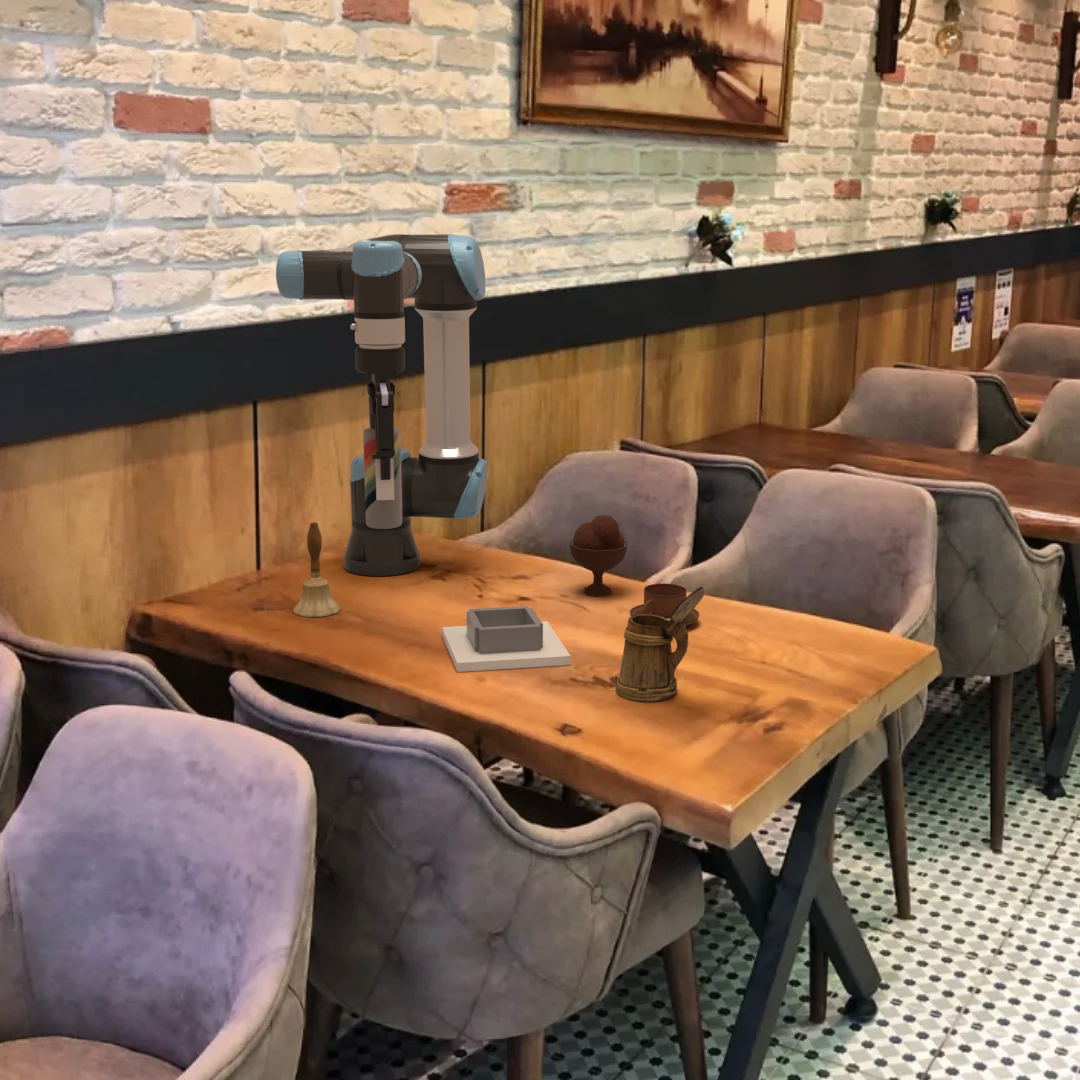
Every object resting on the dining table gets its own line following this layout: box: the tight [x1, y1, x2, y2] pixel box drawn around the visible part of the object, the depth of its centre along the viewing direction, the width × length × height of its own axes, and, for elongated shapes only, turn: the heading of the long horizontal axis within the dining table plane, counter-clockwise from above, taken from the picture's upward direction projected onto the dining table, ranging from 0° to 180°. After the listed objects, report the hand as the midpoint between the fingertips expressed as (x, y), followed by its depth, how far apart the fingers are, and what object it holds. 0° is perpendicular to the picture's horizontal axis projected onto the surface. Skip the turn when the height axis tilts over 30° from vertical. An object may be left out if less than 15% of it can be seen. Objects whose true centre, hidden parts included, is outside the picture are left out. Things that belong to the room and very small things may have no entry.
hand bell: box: [293, 522, 341, 618], centre depth 232 cm, size 8×8×16 cm
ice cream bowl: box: [569, 514, 629, 597], centre depth 245 cm, size 11×11×15 cm
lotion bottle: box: [362, 401, 402, 529], centre depth 204 cm, size 6×6×20 cm
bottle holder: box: [441, 605, 572, 673], centre depth 214 cm, size 18×18×6 cm
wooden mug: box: [614, 586, 705, 703], centre depth 193 cm, size 9×14×18 cm, turn 52°
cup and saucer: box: [629, 583, 700, 627], centre depth 228 cm, size 12×12×6 cm
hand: (383, 494), depth 205 cm, fingers closed on lotion bottle, 6 cm apart
